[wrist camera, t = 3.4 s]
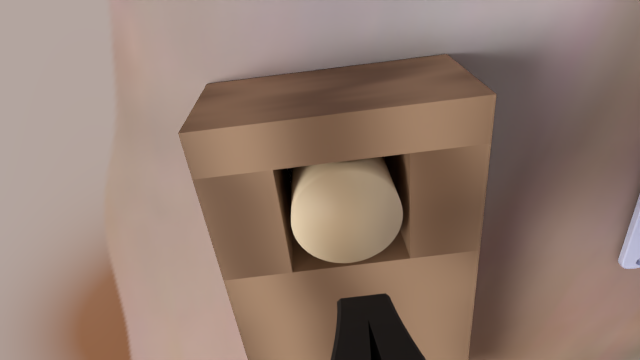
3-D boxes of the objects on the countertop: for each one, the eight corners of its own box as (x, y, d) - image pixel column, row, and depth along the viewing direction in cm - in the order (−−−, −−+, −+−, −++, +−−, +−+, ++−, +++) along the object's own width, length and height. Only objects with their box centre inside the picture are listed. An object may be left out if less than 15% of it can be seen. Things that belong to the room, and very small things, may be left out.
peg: (377, 111, 18) (402, 164, 14) (381, 190, 20) (403, 256, 16) (285, 123, 18) (282, 179, 14) (298, 200, 20) (299, 268, 16)
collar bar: (446, 53, 17) (496, 94, 13) (433, 362, 28) (459, 441, 23) (206, 83, 18) (178, 133, 13) (282, 379, 28) (279, 461, 23)
